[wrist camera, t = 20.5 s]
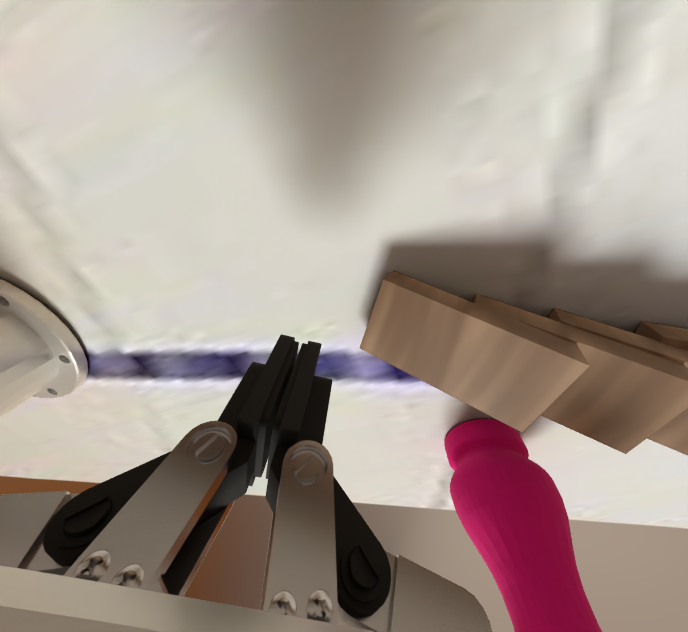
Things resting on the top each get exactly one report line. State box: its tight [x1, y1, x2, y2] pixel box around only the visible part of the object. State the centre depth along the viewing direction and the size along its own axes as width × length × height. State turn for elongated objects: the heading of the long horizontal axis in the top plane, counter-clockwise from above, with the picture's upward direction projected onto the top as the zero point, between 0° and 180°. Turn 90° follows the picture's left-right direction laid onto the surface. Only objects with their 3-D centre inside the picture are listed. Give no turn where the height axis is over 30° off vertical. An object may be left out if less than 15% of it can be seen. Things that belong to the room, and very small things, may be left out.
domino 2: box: [473, 294, 688, 454], centre depth 15 cm, size 2×5×10 cm
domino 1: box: [360, 271, 590, 432], centre depth 15 cm, size 2×5×10 cm
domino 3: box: [548, 308, 688, 455], centre depth 15 cm, size 2×5×10 cm
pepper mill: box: [445, 419, 602, 632], centre depth 14 cm, size 7×7×20 cm
